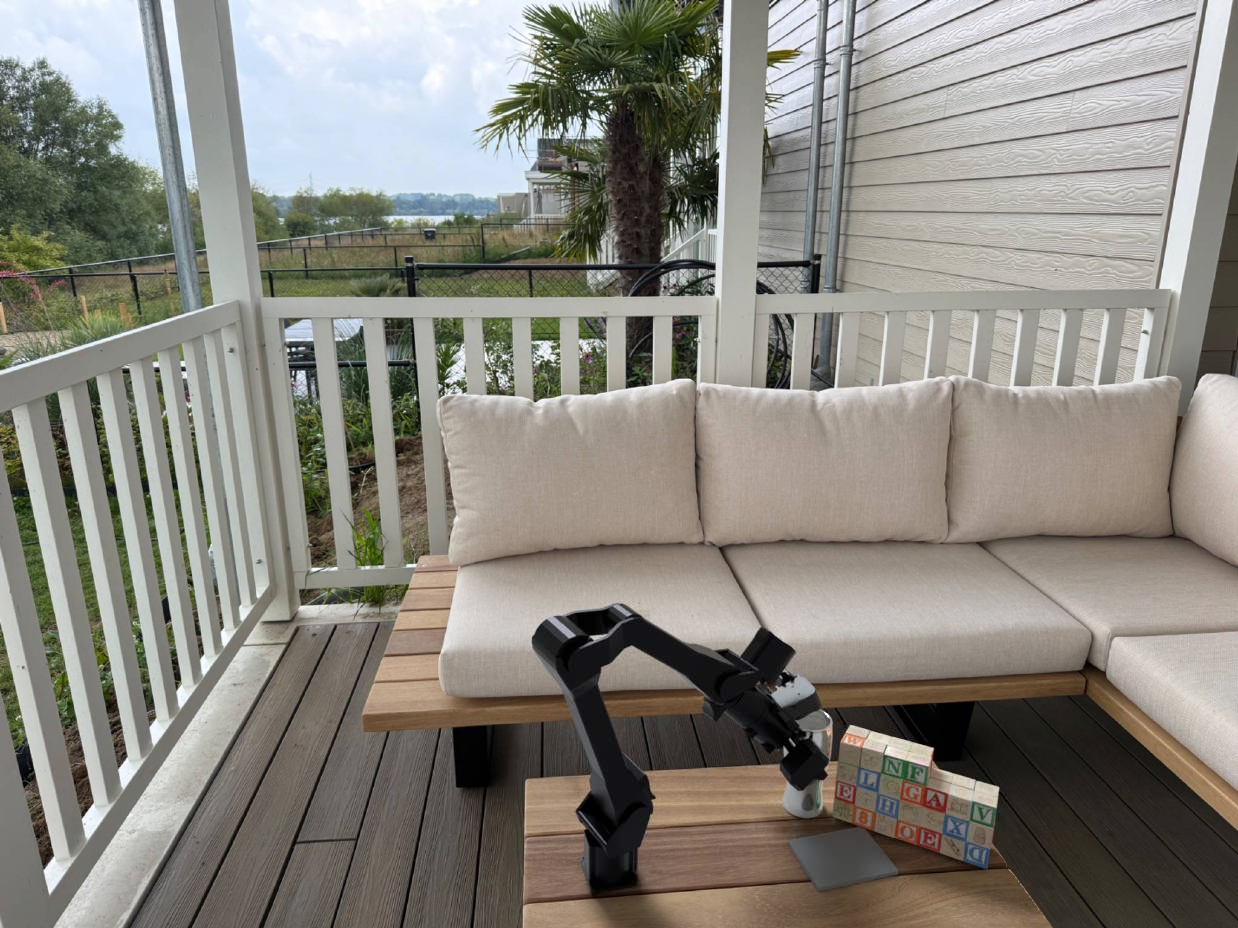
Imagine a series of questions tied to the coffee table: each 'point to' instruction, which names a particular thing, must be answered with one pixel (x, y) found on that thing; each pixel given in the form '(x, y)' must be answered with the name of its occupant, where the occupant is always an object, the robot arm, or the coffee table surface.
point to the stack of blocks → (913, 797)
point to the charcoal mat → (841, 858)
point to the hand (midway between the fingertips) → (814, 763)
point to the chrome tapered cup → (811, 797)
